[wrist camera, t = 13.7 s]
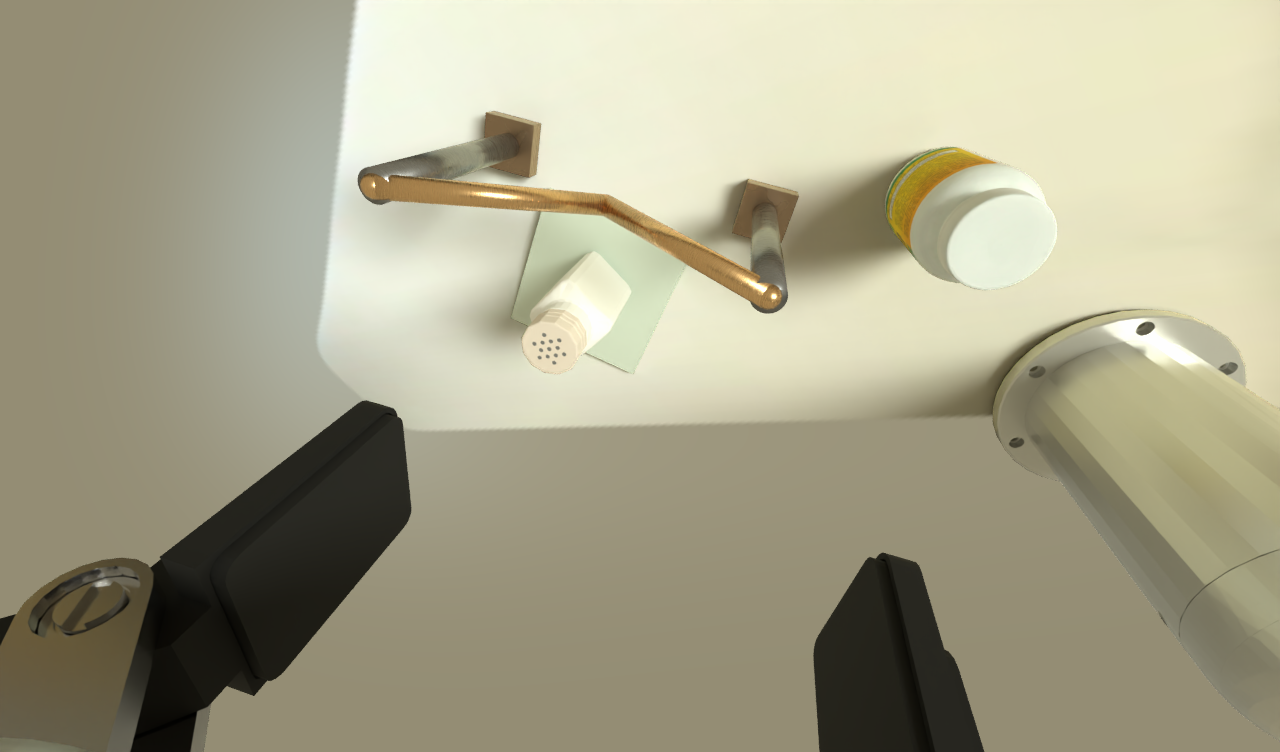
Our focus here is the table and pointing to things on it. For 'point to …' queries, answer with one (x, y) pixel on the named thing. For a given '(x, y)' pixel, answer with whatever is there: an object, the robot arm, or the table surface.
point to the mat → (629, 255)
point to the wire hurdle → (588, 204)
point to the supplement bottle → (970, 218)
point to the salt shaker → (574, 314)
